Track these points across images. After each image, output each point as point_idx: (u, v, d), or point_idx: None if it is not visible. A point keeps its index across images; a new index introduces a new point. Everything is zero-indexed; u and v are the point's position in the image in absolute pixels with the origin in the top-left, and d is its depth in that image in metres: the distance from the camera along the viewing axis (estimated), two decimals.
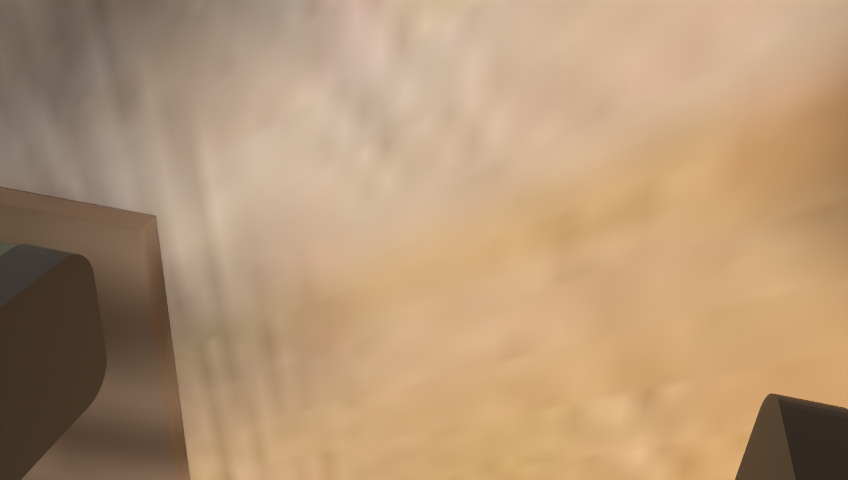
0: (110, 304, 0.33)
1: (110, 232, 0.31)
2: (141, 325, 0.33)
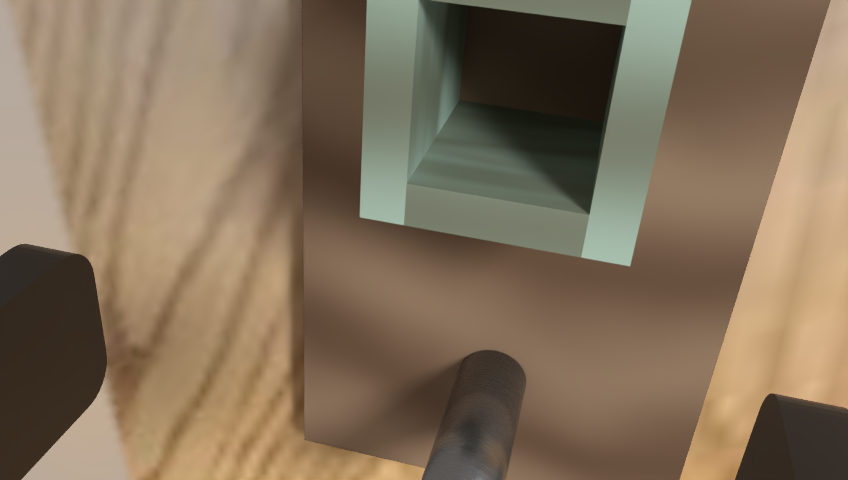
0: (747, 21, 0.21)
1: None
2: (790, 57, 0.21)
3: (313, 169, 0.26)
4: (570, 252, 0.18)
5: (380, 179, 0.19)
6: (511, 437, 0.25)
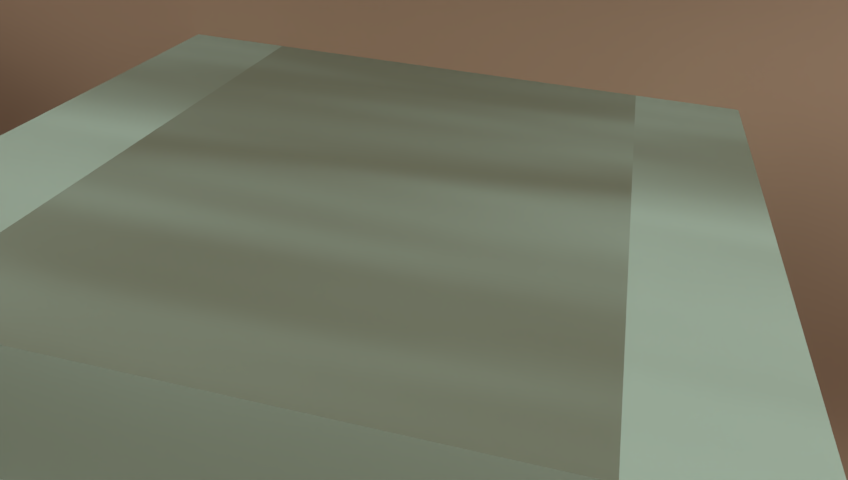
0: None
1: None
2: None
3: None
4: None
5: None
6: None
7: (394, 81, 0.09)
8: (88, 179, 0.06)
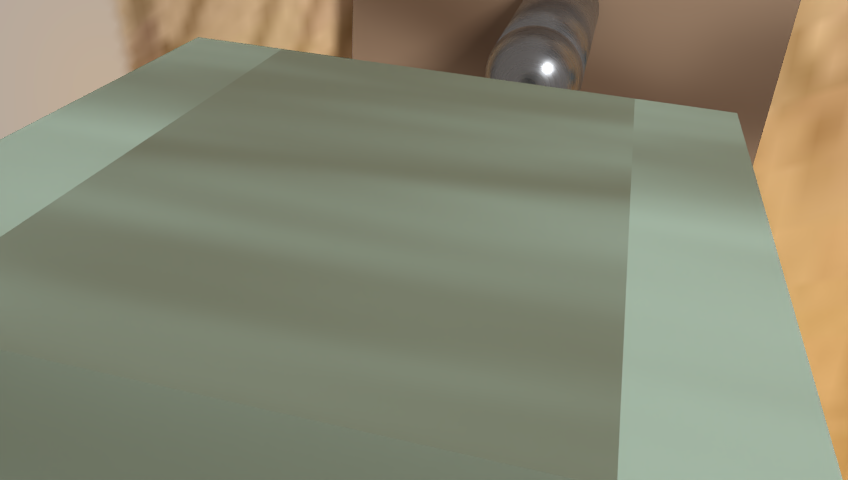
0: None
1: None
2: None
3: None
4: None
5: None
6: (591, 25, 0.23)
7: (393, 85, 0.09)
8: (89, 181, 0.06)
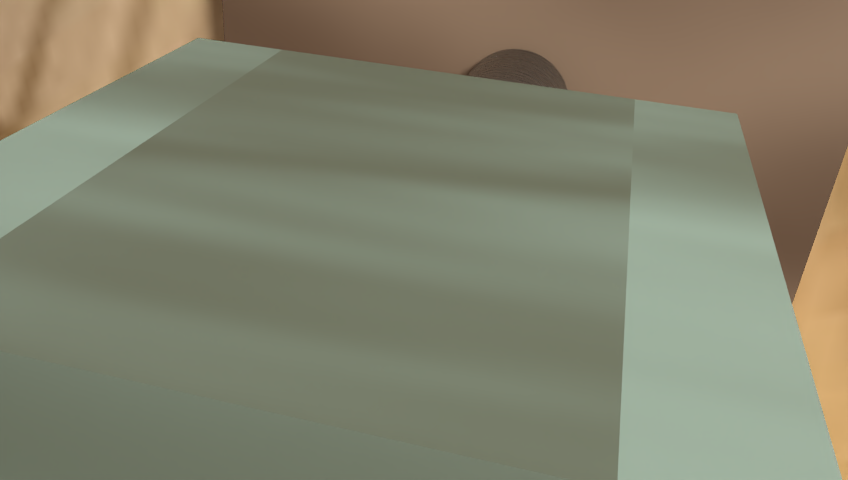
0: None
1: None
2: None
3: None
4: None
5: None
6: None
7: (394, 85, 0.09)
8: (89, 184, 0.06)
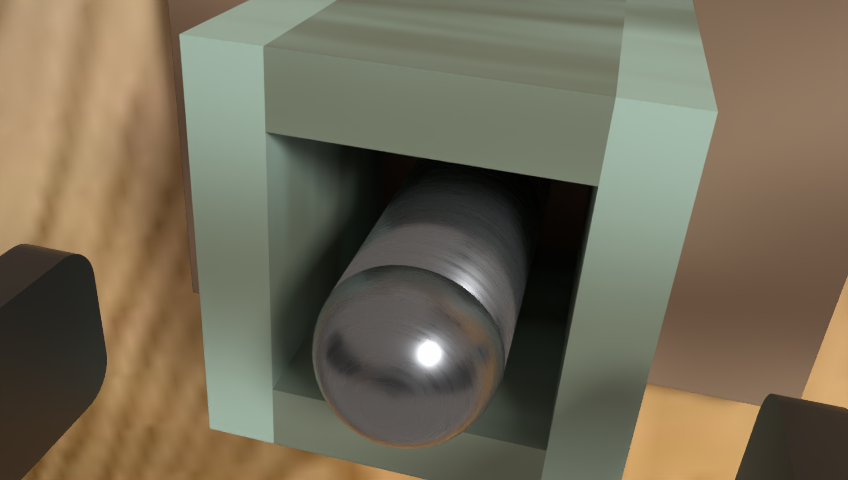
0: None
1: None
2: None
3: None
4: None
5: (234, 381, 0.12)
6: (538, 203, 0.13)
7: None
8: (322, 11, 0.11)
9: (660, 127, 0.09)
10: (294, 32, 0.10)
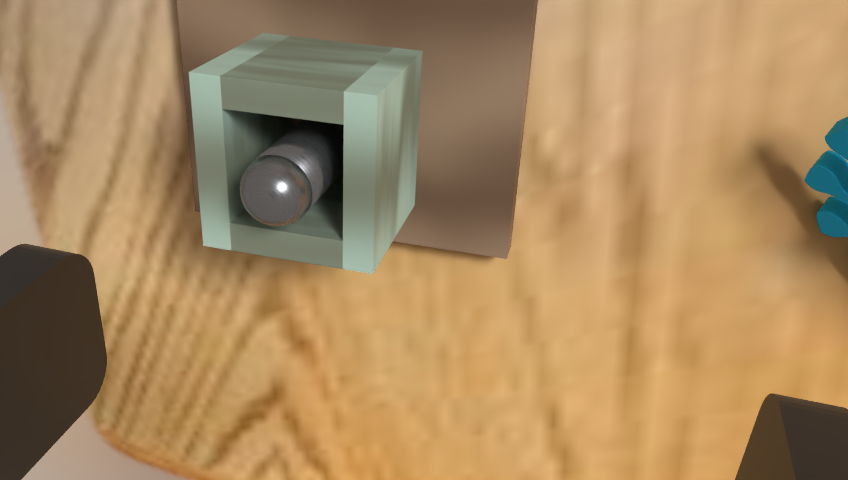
0: None
1: None
2: None
3: None
4: (335, 265, 0.28)
5: (213, 220, 0.29)
6: None
7: (323, 44, 0.30)
8: (246, 61, 0.28)
9: (360, 101, 0.25)
10: (233, 70, 0.27)
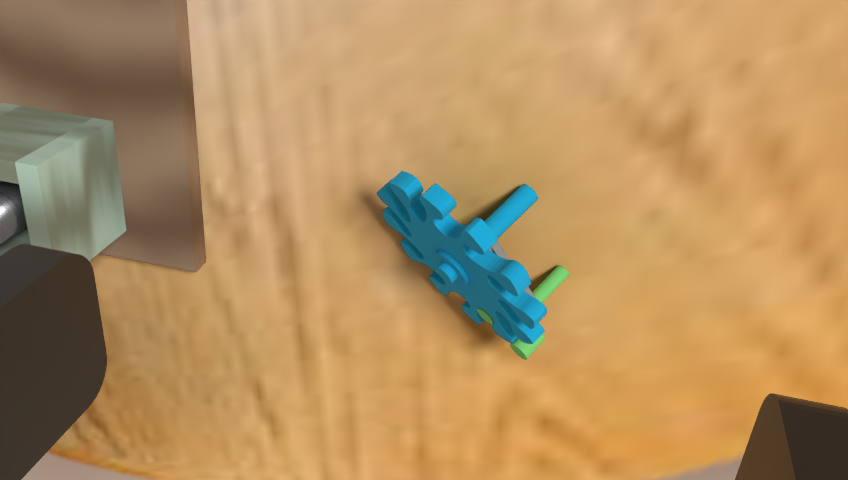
0: None
1: None
2: None
3: None
4: None
5: None
6: None
7: (39, 114, 0.41)
8: None
9: (26, 169, 0.36)
10: None
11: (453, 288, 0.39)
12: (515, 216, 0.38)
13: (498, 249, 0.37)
